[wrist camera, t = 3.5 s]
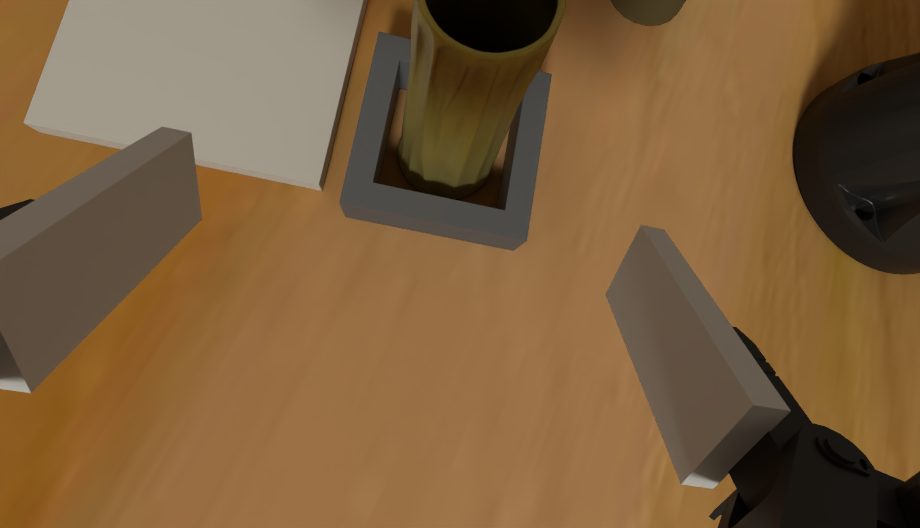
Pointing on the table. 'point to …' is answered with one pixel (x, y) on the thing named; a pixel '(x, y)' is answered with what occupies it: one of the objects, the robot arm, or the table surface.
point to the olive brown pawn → (648, 10)
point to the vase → (468, 86)
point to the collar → (428, 210)
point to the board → (205, 79)
